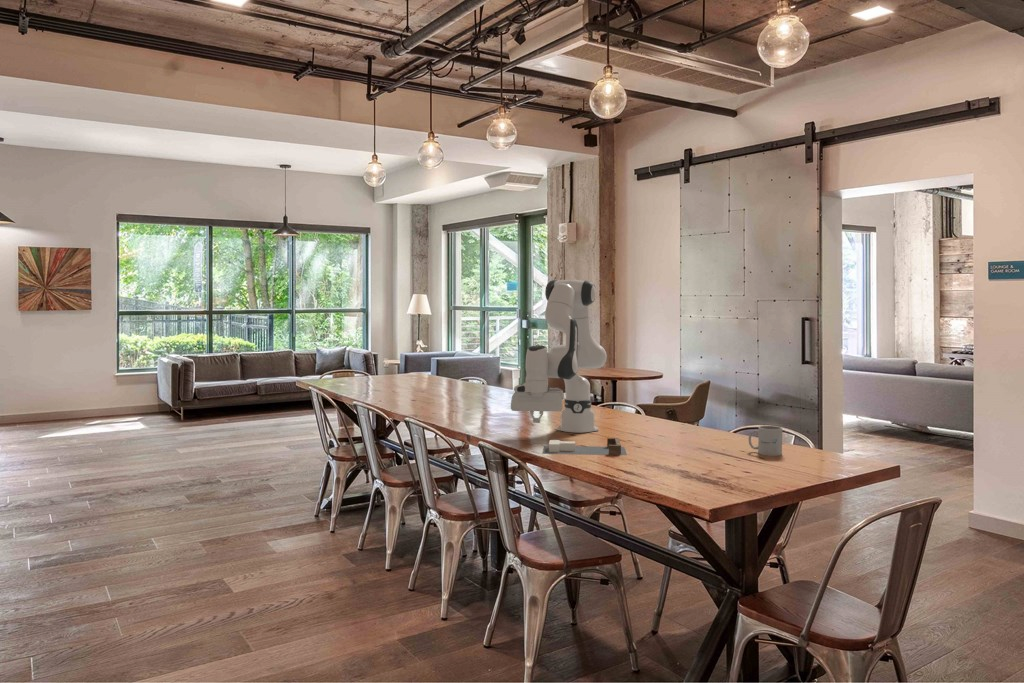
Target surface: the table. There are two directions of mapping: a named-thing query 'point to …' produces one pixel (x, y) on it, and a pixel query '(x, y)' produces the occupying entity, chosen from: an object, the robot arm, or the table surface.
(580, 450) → the mat
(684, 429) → the table surface
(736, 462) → the table surface
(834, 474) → the table surface
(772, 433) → the mug
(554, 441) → the tee
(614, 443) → the dock
